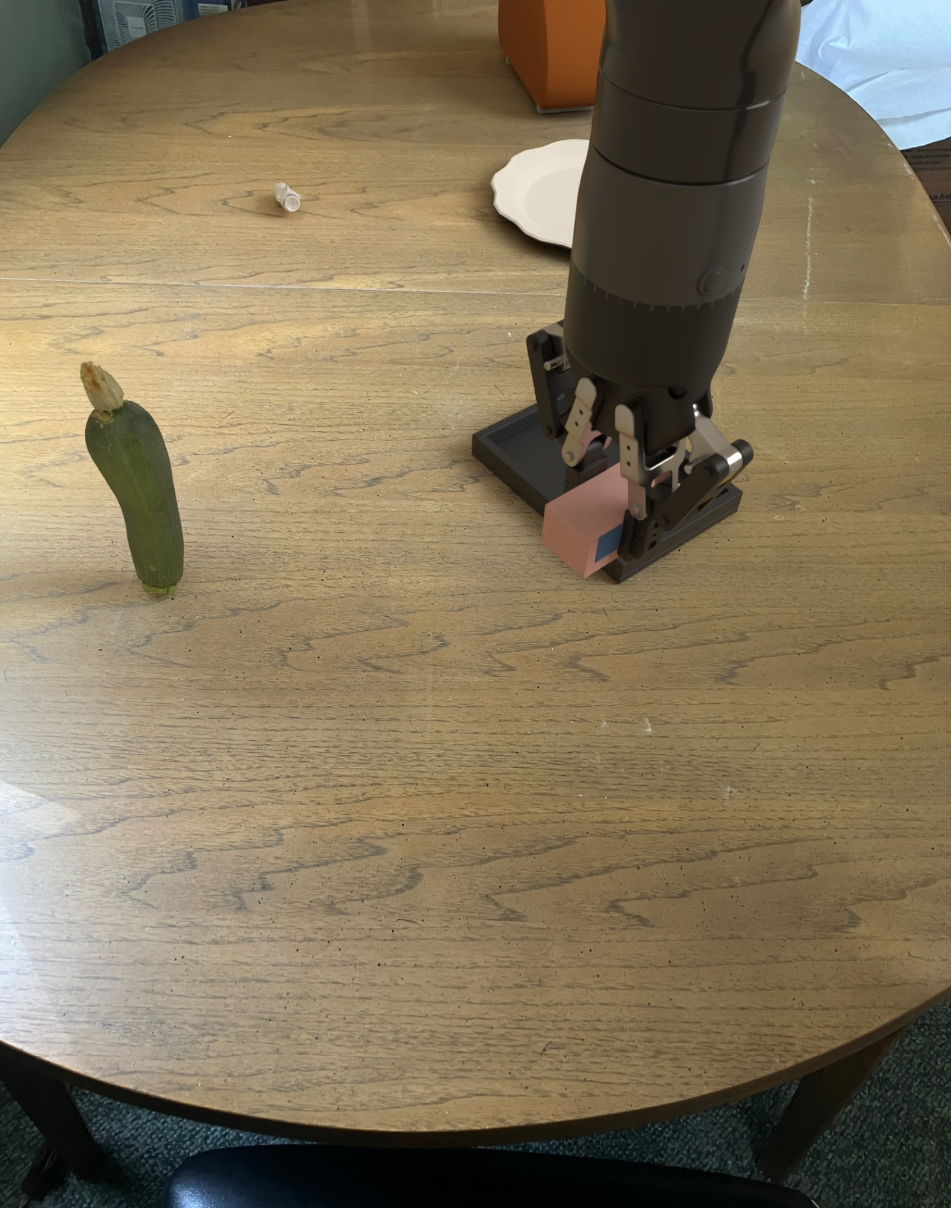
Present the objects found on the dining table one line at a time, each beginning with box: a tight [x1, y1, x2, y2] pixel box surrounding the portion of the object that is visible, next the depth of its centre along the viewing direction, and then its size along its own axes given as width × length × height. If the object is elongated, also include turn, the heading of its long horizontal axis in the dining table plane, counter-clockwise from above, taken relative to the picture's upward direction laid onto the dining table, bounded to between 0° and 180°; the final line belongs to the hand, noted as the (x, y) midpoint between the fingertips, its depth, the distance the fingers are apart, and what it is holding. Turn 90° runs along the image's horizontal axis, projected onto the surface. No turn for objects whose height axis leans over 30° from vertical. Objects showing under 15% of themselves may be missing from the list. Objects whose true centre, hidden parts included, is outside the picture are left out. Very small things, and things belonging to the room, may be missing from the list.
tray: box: [471, 393, 744, 585], centre depth 75 cm, size 18×13×2 cm
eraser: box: [541, 462, 680, 580], centre depth 53 cm, size 4×7×3 cm, turn 129°
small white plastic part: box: [272, 182, 302, 213], centre depth 101 cm, size 4×6×3 cm, turn 178°
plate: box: [489, 138, 590, 251], centre depth 103 cm, size 25×25×2 cm
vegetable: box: [79, 360, 185, 595], centre depth 60 cm, size 4×4×20 cm
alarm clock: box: [497, 0, 606, 115], centre depth 117 cm, size 23×9×17 cm, turn 13°
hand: (607, 529), depth 54 cm, fingers closed on eraser, 3 cm apart
